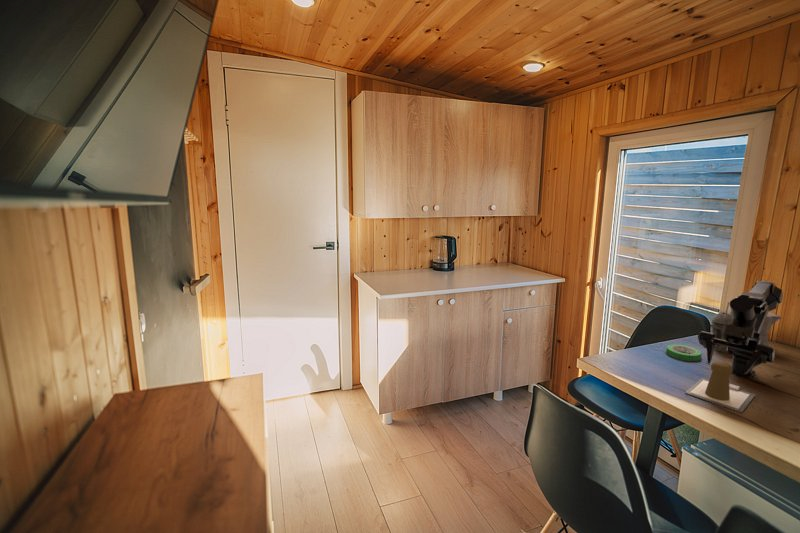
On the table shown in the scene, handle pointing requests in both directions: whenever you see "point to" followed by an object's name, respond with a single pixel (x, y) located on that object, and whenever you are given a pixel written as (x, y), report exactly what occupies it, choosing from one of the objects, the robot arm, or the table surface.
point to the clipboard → (736, 401)
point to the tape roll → (693, 356)
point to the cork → (719, 381)
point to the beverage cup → (721, 327)
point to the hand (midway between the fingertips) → (726, 368)
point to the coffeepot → (767, 327)
